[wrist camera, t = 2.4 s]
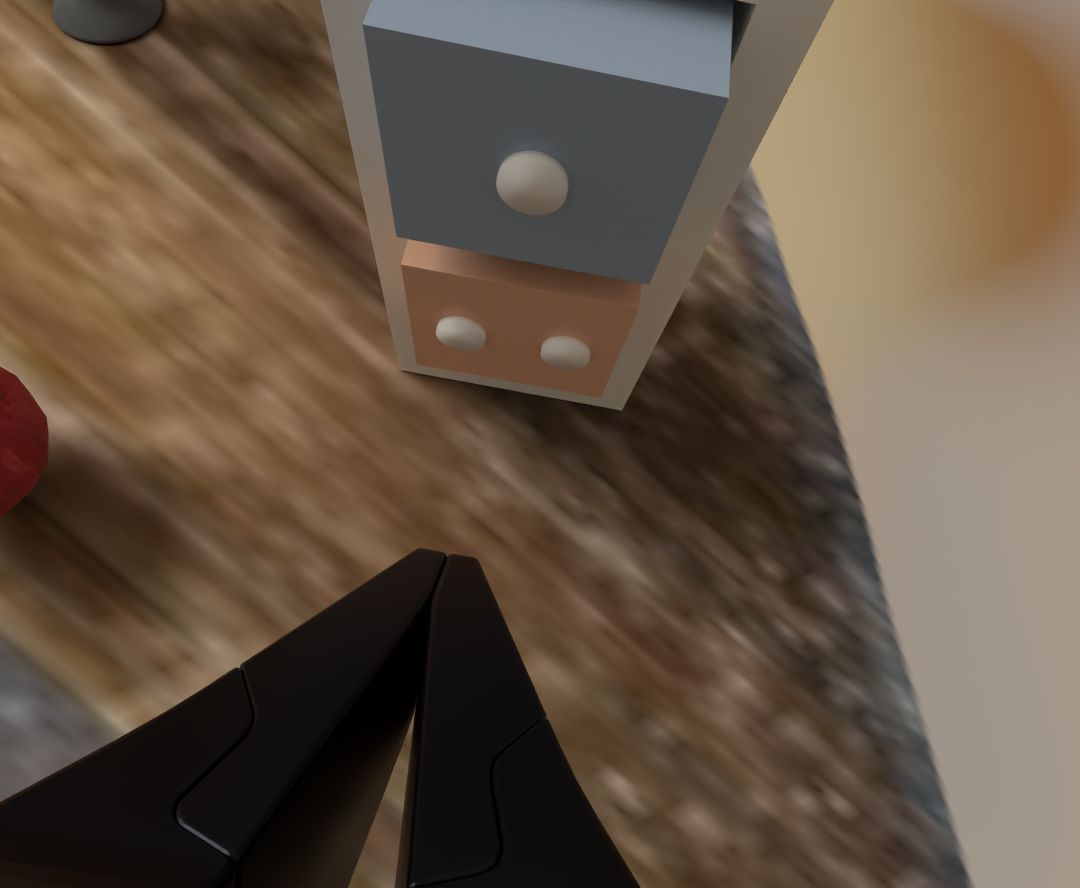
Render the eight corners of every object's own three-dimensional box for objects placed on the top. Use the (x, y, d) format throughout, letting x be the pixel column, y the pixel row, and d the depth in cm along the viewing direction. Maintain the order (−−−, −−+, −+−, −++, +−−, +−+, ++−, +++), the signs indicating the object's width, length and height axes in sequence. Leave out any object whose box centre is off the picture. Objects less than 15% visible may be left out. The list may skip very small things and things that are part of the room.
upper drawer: (648, 293, 15) (728, 108, 10) (393, 245, 15) (358, 34, 10) (657, 203, 16) (733, 0, 11) (420, 157, 16) (399, -70, 11)
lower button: (600, 405, 20) (637, 317, 16) (414, 370, 20) (398, 272, 16) (609, 332, 21) (647, 231, 17) (433, 299, 21) (423, 188, 17)
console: (621, 410, 25) (843, -19, 10) (399, 370, 25) (291, -134, 10) (636, 279, 28) (831, -220, 13) (434, 240, 28) (391, -317, 12)
